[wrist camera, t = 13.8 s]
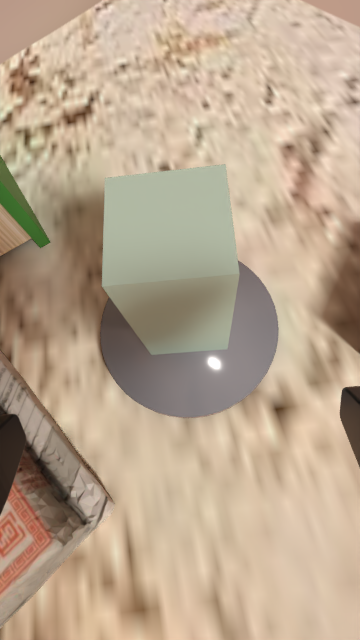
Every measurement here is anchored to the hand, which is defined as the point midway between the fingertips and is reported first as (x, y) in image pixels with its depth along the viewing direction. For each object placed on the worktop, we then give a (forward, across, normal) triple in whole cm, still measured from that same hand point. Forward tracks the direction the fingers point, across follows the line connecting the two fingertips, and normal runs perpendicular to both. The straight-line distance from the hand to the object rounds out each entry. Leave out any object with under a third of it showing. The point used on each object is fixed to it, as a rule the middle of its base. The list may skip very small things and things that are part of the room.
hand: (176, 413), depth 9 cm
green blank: (+13, 0, +3) cm, 14 cm away
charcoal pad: (+14, 0, +4) cm, 14 cm away
